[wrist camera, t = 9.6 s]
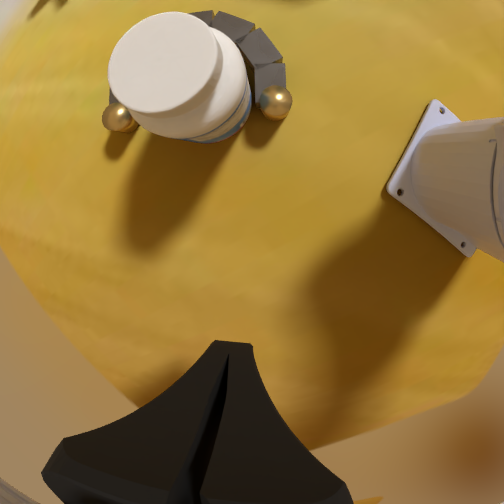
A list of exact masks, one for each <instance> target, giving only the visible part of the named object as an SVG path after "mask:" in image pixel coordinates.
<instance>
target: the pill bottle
mask: <svg viewBox="0 0 504 504" xmlns="http://www.w3.org/2000/svg"><path fill="white" fill-rule="evenodd" d="M108 81H109V85H110V88H111V91H112V93H113V95H114V96H115V97H116V99H117V100H118V101H119V102H120V103H121V104H122V105H123V106H125V107H126V108H127V109H128V111H129V112H130V114H131V116H132V117H133V118H134V119H135V121H136V122H137V123H138V124H140V125H141V126H142V127H143V128H145V129H146V130H148V131H150V132H152V133H154V134H157V135H160V136H164V137H168V138H173V139H180V140H186V141H191V142H196V143H205V144H207V143H215V142H219V141H222V140H225V139H227V138H229V137H231V136H232V135H234V134H235V133H237V132H238V131H239V130H240V129H241V128H242V126H243V125H244V124H245V122H246V120H247V119H248V116H249V114H250V111H251V106H252V96H251V90H250V86H249V82H248V77H247V73H246V68H245V64H244V60H243V58H242V55H241V53H240V51H239V49H238V48H237V46H236V45H235V43H234V42H233V41H232V40H231V39H230V38H229V37H228V36H226V35H225V34H224V33H222V32H221V31H219V30H217V29H215V28H212V27H209V26H208V25H207V24H206V23H205V22H203V21H202V20H201V19H199V18H197V17H195V16H193V15H190V14H187V13H181V12H165V13H160V14H156V15H153V16H150V17H148V18H146V19H144V20H142V21H140V22H139V23H137V24H135V25H134V26H133V27H132V28H130V29H129V30H128V31H127V32H126V33H125V34H124V35H123V36H122V38H121V39H120V40H119V42H118V43H117V45H116V46H115V48H114V50H113V52H112V55H111V57H110V61H109V65H108Z"/></svg>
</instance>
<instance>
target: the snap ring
mask: <svg viewBox="0 0 504 504" xmlns="http://www.w3.org/2000/svg"><path fill="white" fill-rule="evenodd" d="M188 14H190V15H193V16H195V17H197V18H199V19H201V20H202V21H203V22H205V23H206V24H207V25H208V26H209V27H212V28H215V29H217V30H219V31H221V32H222V33H224V34H225V35H226V36H228V37H229V38H230V39H231V40H232V41H233V42H234V43H235V45H236V46H237V48H238V49H239V51H240V53H241V55H242V57H243V58H244V60H245V61H246V62H247V64H248V65H249V67H250V68H251V69H252V71H253V72H254V74H255V103H256V107H257V108H261V111H262V114H263V115H264V116H265V117H266V118H267V119H269V120H272V121H279V120H282V119H284V118H285V117H286V116H287V115H288V113H289V110H290V108H291V105H292V96H291V94H290V92H289V91H288V90H287V89H286V75H285V63H282V59H283V57H282V56H281V54H280V53H279V52H278V50H277V49H276V48H275V46H274V45H273V44H272V42H271V41H270V40H269V38H268V37H267V36H266V34H265V33H264V32H263V31H262V29H261V28H258V29H255V24H254V23H251V22H249V21H246V20H244V19H241V18H238V17H235V16H233V15H230V14H227V13H224V12H221V11H219V12H218V13H217V14H216V16H215V15H214V13H213V10H210V11H202V12H195V13H188ZM102 122H103V125H104V127H105V128H106V129H108V130H113V131H119V132H126V133H129V132H132V131H134V130H135V129H136V128H137V127H138V126H139V124H138V123H137V122H136V121H135V119H134V118H133V117H132V116H131V114H130V112H129V111H128V109H127V108H126V107H125V106H123V105H122V104H121V103H120V102H119V101H118V100H117V99H116V97H115V96H114V95H113V93H112V91H111V88H110V96H109V106H108V107H107V108H106V109H105V110H104V112H103V115H102Z"/></svg>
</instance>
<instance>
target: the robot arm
mask: <svg viewBox="0 0 504 504" xmlns="http://www.w3.org/2000/svg"><path fill="white" fill-rule="evenodd" d="M439 108H441V110H442V114H441V113H440V111H439ZM398 189H401V191H402V193H401V195H399V196H398V194H397V190H398ZM386 190H387V192H388V193H389V194H390V195H391V196H393V197H394V198H395V199H397V200H398V201H399V202H401V203H402V204H403V205H405V206H406V207H407V208H409V209H410V210H411V211H413V212H414V213H415V214H416V215H418V216H419V217H420V218H421V219H423V220H424V221H425V222H426V223H428V224H429V225H430V226H431V227H433V228H434V229H435V230H436V231H437V232H439V233H440V234H441V235H442V236H443V237H444V238H446V239H447V240H448V241H449V242H450V243H451V244H453V245H454V246H455V247H456V248H457V249H458V250H459V251H461V252H462V253H463V254H464V255H465V256H467V257H471V256H472V255H473V254H474V252H475V250H476V248H478V249H480V250H482V251H484V252H485V253H487V254H489V255H491V256H493V257H495V258H497V259H498V260H500V261H502V262H504V117H498V118H489V119H480V120H472V121H465V122H461V121H460V120H459V119H458V118H457V117H456V116H455V115H454V114H453V113H452V112H451V111H450V110H449V109H447V108H446V107H445V106H444V105H443V104H442V103H441V102H440V101H438V100H435V99H434V100H432V101H430V102H429V105H428V107H427V109H426V111H425V113H424V115H423V117H422V119H421V121H420V123H419V125H418V127H417V129H416V131H415V133H414V135H413V137H412V139H411V141H410V143H409V145H408V147H407V148H406V150H405V152H404V154H403V156H402V158H401V160H400V162H399V163H398V165H397V167H396V169H395V171H394V173H393V174H392V176H391V178H390V180H389V182H388V183H387V186H386ZM462 242H463V245H462V246H461V243H462ZM41 474H42V477H43V480H44V481H45V483H46V484H47V485H48V487H49V488H50V489H51V490H52V491H53V492H54V493H55V494H56V495H57V496H58V498H60V500H61V501H62V502H63V503H64V504H354V503H353V500H352V498H351V495H350V492H349V490H348V488H347V486H346V484H345V482H344V481H342V480H341V479H340V478H338V477H337V476H336V475H335V474H333V473H332V472H331V471H330V470H329V469H327V468H326V467H325V466H324V465H323V464H322V463H321V462H319V461H318V460H317V459H316V458H315V457H314V456H313V455H312V454H311V453H310V452H309V451H308V450H307V448H306V447H305V446H304V445H303V444H302V443H301V442H300V441H299V439H298V438H297V437H296V436H295V435H294V434H293V432H292V431H291V430H290V428H289V427H288V426H287V424H286V423H285V422H284V420H283V419H282V417H281V416H280V414H279V412H278V411H277V409H276V408H275V406H274V404H273V402H272V401H271V399H270V397H269V395H268V393H267V391H266V389H265V386H264V384H263V382H262V379H261V377H260V374H259V372H258V369H257V366H256V362H255V359H254V354H253V346H252V345H251V344H250V343H240V342H229V341H219V340H215V341H213V342H212V343H211V345H210V346H209V347H208V349H207V350H206V351H205V352H204V354H203V355H202V356H201V357H200V358H199V359H198V360H197V361H196V363H195V364H194V365H193V366H192V367H191V368H190V369H189V370H188V371H187V372H186V373H185V374H184V375H183V376H182V377H181V378H179V379H178V380H177V381H176V382H175V383H174V384H173V385H172V386H170V387H169V388H168V389H167V390H166V391H164V392H163V393H162V394H160V395H159V396H158V397H156V398H155V399H153V400H152V401H151V402H149V403H147V404H146V405H144V406H143V407H141V408H139V409H138V410H136V411H134V412H133V413H131V414H129V415H127V416H126V417H123V418H121V419H119V420H117V421H115V422H112V423H110V424H108V425H105V426H103V427H100V428H97V429H95V430H91V431H88V432H85V433H82V434H78V435H74V436H71V437H67V438H63V440H62V441H61V442H60V444H59V445H58V446H57V448H56V449H55V451H54V452H53V454H52V455H51V457H50V459H49V460H48V462H47V464H46V466H45V467H44V469H43V471H42V472H41ZM0 504H39V503H38V502H36V501H34V500H33V499H31V498H29V497H28V496H26V495H25V494H23V493H22V492H20V491H18V490H17V489H15V488H14V487H13V486H11V485H10V484H8V483H7V482H5V481H4V480H3V479H1V478H0ZM499 504H504V501H502V502H501V503H499Z"/></svg>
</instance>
